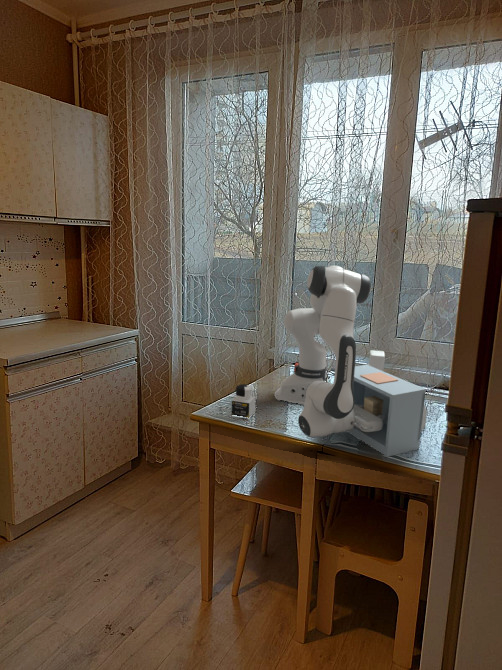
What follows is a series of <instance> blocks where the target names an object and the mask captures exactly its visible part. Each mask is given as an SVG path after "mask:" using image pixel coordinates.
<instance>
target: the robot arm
mask: <svg viewBox="0 0 502 670" xmlns="http://www.w3.org/2000/svg"><path fill="white" fill-rule="evenodd" d="M306 284H307V290H308V291H309V293H310V294H311V295H310V297H309V302H310V303H309V304H310V306H311V307H310V308H309V307H308V308H307V307H306V308H303V307H302V308H300V307H299V308H295V309H292V310H289V311H287V312H286V314H285V316H284V320H283V325H284V329H285V330H286V332H287V333H288V334H289V335H290V336H292V337H293V338H294V339H295V340H296V343H297V345H298V346H297V347H298V351H299V352H298V353H299V355H298V356H299V361H298V362H296V363H295V364H294V366H293V367H294V368H293V373H292V374H290V375H289V376H287V377H286V378H284V379H283V380H282V382H281V384H280V387H279V388H278V389H276V391H275V392H274V396H275V397H274V399H275V398H276V399H279V400H278V401H280V400H284V401H283V402H285V401H288V402H287V403H291V402H292V403H293V404H296V403H298V404H297V405H301V406H302V405H303V408H302V411H301V412H300V414H299V416H298V417H297V418H298V420H297V422H298V426H299V429H300V431H301V432H302V433H303V434H304V435H305V436H307V437H309V438H319V437H325V436H330V435H331V434H335V433H336V434H339V433H344V432H347V431H349V430H352V429H353V427H354V426H355V427H356V428H358V429H360V430H361V431H364V432H373V431H379V430H381V429H382V426H383V420H384V418H385V415H383V414H378V416H375V415H373V414H372V413H370V412H368V411H366V410H364V405H357V404H354V403H355V397H354V372H355V366H356V357H357V355H356V354H357V345H356V341H355V338H354V337H355V336H354V326H355V320H356V315H357V314H356V313H357V304H364V302H366V301H367V300H368V297H369V296H370V294H371V290H372V282H371V280H370V278H369V276H367V275H365V274H363V273H360V272H359V273H358V272H355V271H352V270H348V269H344V267H341V266H339V265H329V266H325V265H315V266H314V267H312V269H311V271H310V272H309V274H308V276H307V279H306ZM317 335H319V336H320V338H321V339H322V341H323V342H324V343H325V344H326V345H327V346H329V347H330V349H331V350H332V351H333V353H334V357H335V367H334V377H333V378H334V379H333V383H330V382H326V379H327V373H328V372H327V370H328V369H327V366H326V363H327V349H326V347H325V345H323V344H321V343H320V342H318V341H316V340H315V336H317ZM276 399H275V400H276ZM292 403H291V404H292Z"/></svg>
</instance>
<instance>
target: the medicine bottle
mask: <svg viewBox="0 0 502 670" xmlns="http://www.w3.org/2000/svg"><path fill="white" fill-rule="evenodd" d="M252 391H253V386H251V385H249V384H245V383H243V384H239V385H236V387H235V396H234V397H233V398H232V399H231V416H232V415H237V416H243V417H248V418H249V417H250V416H251V415H252V414H253V413H254V412H255V413H256V396H255V395H253V393H252Z"/></svg>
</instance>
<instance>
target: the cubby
mask: <svg viewBox="0 0 502 670" xmlns="http://www.w3.org/2000/svg"><path fill="white" fill-rule="evenodd" d="M426 391H427V389H426V388H424V387H422V386H419V385H417V384H414V383H412V382H410V381H407V380H405V379H402V378H400V377H398V376H395V375H392V374H390V373H388V372H386V371H384V370H383V371H381V370H379V369H376V368H374V367H371V366H369V364H362V365H357V366H356V365H355V372H354V397H355V403H354V404H357V405H364V400H365V397H371V396H376V397H378V398H380V399H382V400H383V410H382V414H383V415H385V418H384V420H383V426H382V429H381V430H379V431H373V432H364V431H361V430H360V429H358V428H356V427H355V426H354V427H353V429H352V430H349V431H348V432H347V433H349V434H350V433H351V434H350V435H352V436H353V435H354V436H353V437H354V438H356V437H357V439H358V438H359V439H358V440H360V441H361V440H362V441H361V442H363V441H364V442H365V444H366V443H367V444H368V446H369V445H370V446H369V447H371V446H372V447H373V448H372V447H371V448H372V449H374V450H375V449H376V450H375V451H377V452H378V451H379V452H378V453H380V452H381V453H380V454H382V455H383V454H384V455H383V456H385V457H386V458H389V457H392V456H395V455H400V454H405V453H407V452H412V451H416V450H419V449H420V443H421V436H422V435H421V434H422V431H421V427H422V419H423V410H424V405H425V400H426V399H425V398H426V393H427V392H426ZM364 442H363V443H364ZM367 444H366V445H367ZM388 456H389V457H388Z"/></svg>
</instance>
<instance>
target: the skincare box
mask: <svg viewBox="0 0 502 670" xmlns="http://www.w3.org/2000/svg"><path fill="white" fill-rule="evenodd" d="M385 360H386V353H385V351H383V350H374V349H371V350H369V360H368V365H369V366H371V367H374V368H376V369H379V370H381V371H383V372H384V368H385Z"/></svg>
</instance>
